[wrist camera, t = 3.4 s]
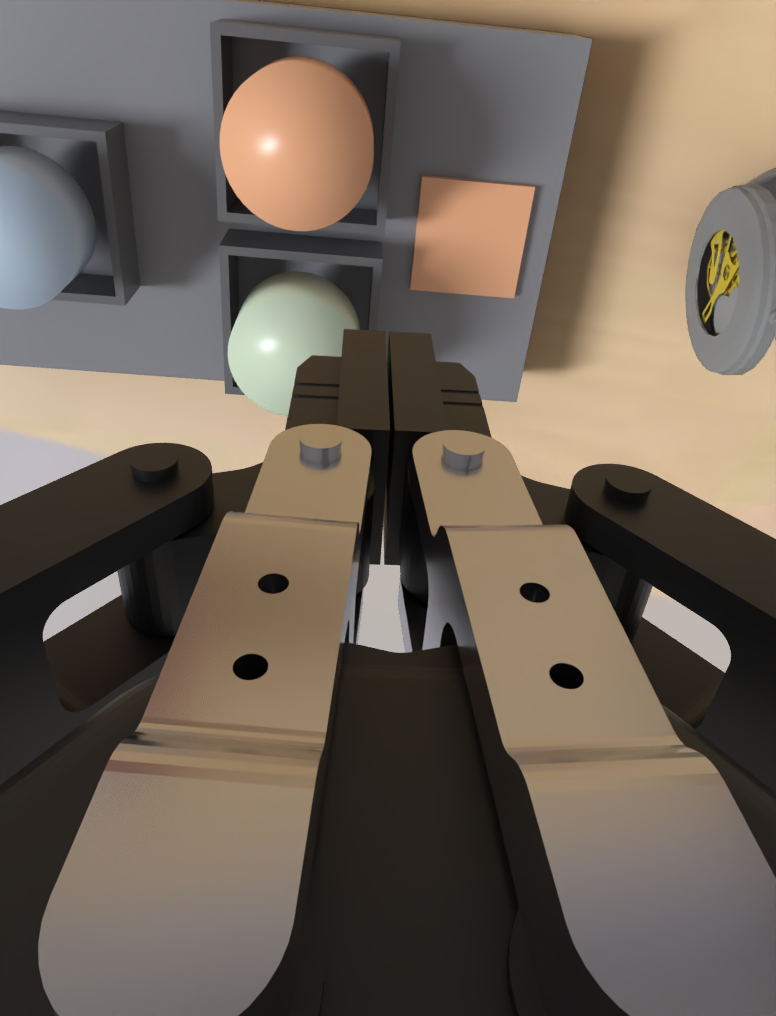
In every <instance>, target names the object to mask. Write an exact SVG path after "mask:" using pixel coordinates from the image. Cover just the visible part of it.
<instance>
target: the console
mask: <svg viewBox="0 0 776 1016" xmlns="http://www.w3.org/2000/svg"><path fill="white" fill-rule="evenodd" d="M591 44H592V39H590V38H586V37H582V36H578V35H575V34H569V33H559V32H550V31H540V30H531V29H522V28H512V27H503V26H493V25H484V24H474V23H465V22H455V21H446V20H437V19H427V18H418V17H408V16H399V15H389V14H380V13H370V12H361V11H352V10H342V9H333V8H323V7H314V6H304V5H295V4H285V3H276V2H266V1H257V0H0V146H18V147H24V148H28V149H31V150H34V151H37V152H39V153H41V154H43V155H45V156H47V157H49V158H50V159H52V160H54V161H55V162H56V163H58V164H59V165H61V166H62V167H63V168H64V169H65V170H66V171H67V172H68V173H69V174H70V175H71V176H72V177H73V178H74V179H75V180H76V182H77V183H78V184H79V186H80V187H81V188H82V190H83V192H84V193H85V195H86V197H87V199H88V201H89V203H90V205H91V208H92V211H93V214H94V218H95V223H96V243H95V248H94V251H93V254H92V257H91V259H90V260H89V262H88V264H87V265H86V266H85V268H84V269H83V270H82V271H81V272H80V273H79V274H78V275H77V276H76V277H75V278H74V279H73V280H72V281H71V282H70V283H69V284H68V285H67V286H66V287H65V288H64V289H63V290H62V291H61V292H60V293H59V294H58V295H57V296H55V297H54V298H53V299H52V300H50V301H49V302H47V303H45V304H43V305H40V306H38V307H34V308H30V309H22V310H21V309H6V308H1V307H0V365H13V366H27V367H41V368H55V369H68V370H82V371H96V372H110V373H124V374H137V375H151V376H165V377H179V378H192V379H206V380H220V381H225V394H238V395H245V394H244V393H243V392H242V391H241V389H240V388H239V387H238V385H237V383H236V382H235V380H234V378H233V376H232V373H231V371H230V367H229V363H228V343H229V338H230V335H231V332H232V329H233V327H234V324H235V322H236V319H237V317H238V314H239V312H240V309H241V307H242V305H243V303H244V301H245V299H246V297H247V296H248V294H249V293H250V292H251V291H252V289H253V288H254V287H255V286H257V285H258V284H259V283H260V282H262V281H263V280H265V279H267V278H268V277H271V276H273V275H276V274H280V273H284V272H292V271H296V272H307V273H311V274H315V275H318V276H320V277H323V278H325V279H327V280H328V281H330V282H332V283H333V284H335V285H336V286H337V287H338V288H340V289H341V290H342V291H343V292H344V293H345V295H346V296H347V297H348V298H349V300H350V301H351V303H352V305H353V306H354V309H355V311H356V313H357V317H358V320H359V326H360V330H374V331H385V333H386V354H387V342H388V333H389V331H395V332H414V333H430V334H431V337H432V343H433V349H434V354H435V360H436V361H437V362H456V363H460V364H462V365H463V366H464V367H465V368H466V369H467V370H468V371H469V372H471V373H472V374H473V375H474V376H475V378H476V382H477V386H478V389H479V394H480V397H481V399H482V400H495V401H509V402H517V397H518V393H519V388H520V383H521V378H522V373H523V369H524V364H525V359H526V354H527V350H528V345H529V340H530V335H531V331H532V326H533V321H534V316H535V311H536V307H537V302H538V297H539V292H540V288H541V283H542V278H543V273H544V268H545V264H546V259H547V254H548V249H549V245H550V240H551V235H552V230H553V226H554V221H555V216H556V211H557V206H558V202H559V197H560V192H561V187H562V183H563V178H564V173H565V168H566V164H567V159H568V154H569V149H570V144H571V140H572V135H573V130H574V125H575V121H576V116H577V111H578V106H579V101H580V97H581V92H582V87H583V82H584V78H585V73H586V68H587V63H588V59H589V54H590V49H591ZM291 56H307V57H312V58H316V59H319V60H322V61H325V62H327V63H329V64H331V65H333V66H335V67H336V68H337V69H339V70H340V71H342V72H343V73H344V74H345V75H346V76H347V77H348V78H350V80H351V81H352V82H353V83H354V84H355V85H356V87H357V88H358V90H359V91H360V93H361V94H362V96H363V98H364V100H365V102H366V104H367V107H368V110H369V112H370V116H371V120H372V125H373V134H374V160H373V167H372V172H371V176H370V180H369V183H368V185H367V188H366V190H365V192H364V194H363V195H362V197H361V199H360V200H359V202H358V203H357V204H356V206H355V207H354V208H353V209H352V210H351V211H350V212H349V213H348V214H347V215H346V216H344V217H343V218H342V219H340V220H339V221H337V222H335V223H334V224H332V225H329V226H327V227H324V228H321V229H317V230H311V231H292V230H286V229H283V228H279V227H276V226H274V225H271V224H269V223H267V222H265V221H264V220H262V219H260V218H259V217H258V216H256V215H255V214H254V213H252V212H251V211H250V210H249V209H248V208H247V207H246V206H245V205H244V204H243V203H242V202H241V200H240V199H239V198H238V197H237V195H236V194H235V192H234V190H233V189H232V187H231V185H230V183H229V181H228V179H227V177H226V174H225V171H224V168H223V164H222V160H221V155H220V129H221V123H222V119H223V116H224V112H225V110H226V107H227V105H228V103H229V101H230V99H231V98H232V96H233V94H234V93H235V92H236V90H237V89H238V88H239V87H240V86H241V84H243V83H244V82H245V81H246V80H247V79H248V78H249V77H250V76H252V75H253V74H254V73H256V72H257V71H258V70H260V69H261V68H263V67H264V66H266V65H267V64H269V63H271V62H273V61H275V60H278V59H281V58H285V57H291Z"/></svg>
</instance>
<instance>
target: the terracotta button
mask: <svg viewBox="0 0 776 1016" xmlns="http://www.w3.org/2000/svg"><path fill="white" fill-rule="evenodd" d="M220 155H221V160H222V164H223V168H224V171H225V174H226V177H227V179H228V181H229V183H230V185H231V187H232V189H233V190H234V192H235V194H236V195H237V197H238V198H239V199H240V200H241V202H242V203H243V204H244V205H245V206H246V207H247V208H248V209H249V210H250V211H251V212H252V213H254V214H255V215H256V216H258V217H259V218H260V219H262V220H264V221H265V222H267V223H269V224H271V225H274V226H276V227H279V228H283V229H286V230H292V231H311V230H317V229H321V228H324V227H327V226H329V225H332V224H334V223H335V222H337V221H339V220H340V219H342V218H343V217H344V216H346V215H347V214H348V213H349V212H350V211H351V210H352V209H353V208H354V207H355V206H356V204H357V203H358V202H359V200H360V199H361V197H362V195H363V194H364V192H365V190H366V188H367V185H368V183H369V180H370V176H371V172H372V167H373V160H374V134H373V125H372V120H371V116H370V112H369V110H368V107H367V104H366V102H365V100H364V98H363V96H362V94H361V93H360V91H359V90H358V88H357V87H356V85H355V84H354V83H353V82H352V81H351V80H350V78H348V77H347V76H346V75H345V74H344V73H343V72H342V71H340V70H339V69H337V68H336V67H335V66H333V65H331V64H329V63H327V62H325V61H322V60H319V59H316V58H312V57H307V56H291V57H285V58H281V59H278V60H275V61H273V62H271V63H269V64H267V65H266V66H264V67H263V68H261V69H260V70H258V71H257V72H256V73H254V74H253V75H252V76H250V77H249V78H248V79H247V80H246V81H245V82H244V83H243V84H241V86H240V87H239V88H238V89H237V90H236V92H235V93H234V94H233V96H232V98H231V99H230V101H229V103H228V105H227V107H226V110H225V112H224V116H223V119H222V123H221V129H220Z"/></svg>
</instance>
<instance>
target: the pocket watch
mask: <svg viewBox="0 0 776 1016" xmlns="http://www.w3.org/2000/svg"><path fill="white" fill-rule="evenodd" d="M685 298H686V317H687V324H688V331H689V335H690V339H691V343H692V346H693V349H694V351H695V354H696V356H697V358H698V359H699V361H700V362H701V364H702V365H703V366H704V367H705V368H706V369H708V370H709V371H711V372H716V373H719V374H722V375H743V374H744V373H746V372H748V371H750V370H751V369H753V368H754V367H755V366H756V365H757V364H758V363H759V362H760V360H761V359H762V358H763V357H764V356H765V354H766V352H767V350H768V348H769V347H770V345H771V343H772V341H773V339H774V336H775V340H776V168H774V169H772V170H769V171H767V172H765V173H763V174H762V175H760V176H758V177H757V178H755V179H754V180H752V181H750V182H749V183H747V184H746V185H739V186H733V187H732V188H729V189H727V190H724V191H722V192H720V193H719V194H718V195H717V196H716V197H715V198H714V199H712V201H711V202H710V204H709V205H708V207H707V208H706V210H705V212H704V214H703V216H702V219H701V221H700V223H699V225H698V227H697V230H696V233H695V236H694V240H693V243H692V247H691V252H690V257H689V262H688V270H687V277H686V290H685Z"/></svg>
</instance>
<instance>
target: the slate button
mask: <svg viewBox="0 0 776 1016" xmlns="http://www.w3.org/2000/svg"><path fill="white" fill-rule="evenodd" d="M95 243H96V223H95V218H94V214H93V211H92V208H91V205H90V203H89V201H88V199H87V197H86V195H85V193H84V192H83V190H82V188H81V187H80V186H79V184H78V183H77V182H76V180H75V179H74V178H73V177H72V176H71V175H70V174H69V173H68V172H67V171H66V170H65V169H64V168H63V167H62V166H61V165H59V164H58V163H56V162H55V161H54V160H52V159H50V158H49V157H47V156H45V155H43V154H41V153H39V152H37V151H34V150H31V149H28V148H24V147H18V146H0V307H1V308H6V309H21V310H22V309H30V308H34V307H38V306H40V305H43V304H45V303H47V302H49V301H50V300H52V299H53V298H54V297H55V296H57V295H58V294H59V293H60V292H61V291H62V290H63V289H64V288H65V287H66V286H67V285H68V284H69V283H70V282H71V281H72V280H73V279H74V278H75V277H76V276H77V275H78V274H79V273H80V272H81V271H82V270H83V269H84V268H85V266H86V265H87V264H88V262H89V260H90V259H91V257H92V254H93V251H94V248H95Z"/></svg>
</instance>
